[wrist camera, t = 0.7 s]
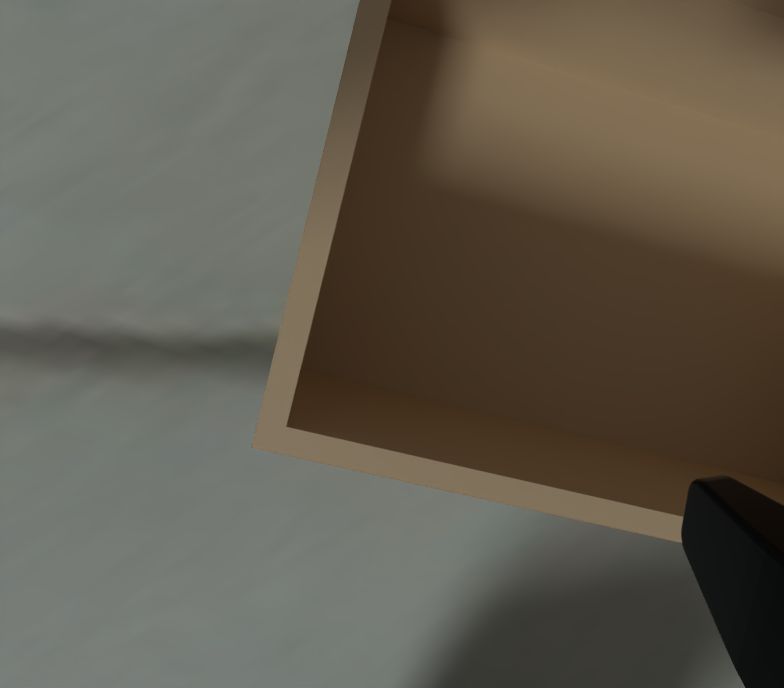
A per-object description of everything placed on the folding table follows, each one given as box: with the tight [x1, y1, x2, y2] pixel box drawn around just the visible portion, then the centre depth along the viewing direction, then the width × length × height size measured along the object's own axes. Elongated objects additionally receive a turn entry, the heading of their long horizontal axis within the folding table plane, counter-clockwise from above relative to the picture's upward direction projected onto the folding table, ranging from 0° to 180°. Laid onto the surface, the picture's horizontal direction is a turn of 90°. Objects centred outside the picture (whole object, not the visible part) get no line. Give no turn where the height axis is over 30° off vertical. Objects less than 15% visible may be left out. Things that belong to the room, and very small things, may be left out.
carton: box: [251, 0, 784, 543], centre depth 20 cm, size 12×18×8 cm, turn 75°
